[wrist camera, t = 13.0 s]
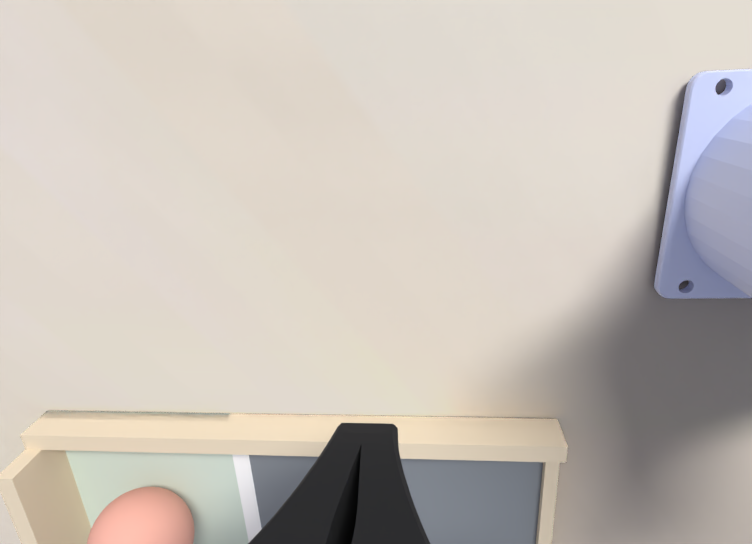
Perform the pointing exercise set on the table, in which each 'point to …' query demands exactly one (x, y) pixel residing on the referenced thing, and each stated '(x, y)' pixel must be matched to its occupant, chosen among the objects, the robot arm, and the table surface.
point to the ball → (144, 519)
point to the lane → (279, 471)
